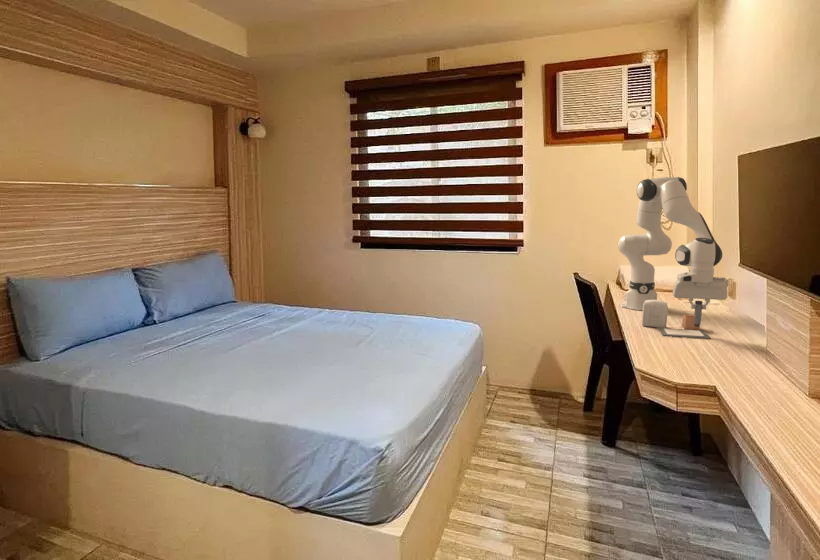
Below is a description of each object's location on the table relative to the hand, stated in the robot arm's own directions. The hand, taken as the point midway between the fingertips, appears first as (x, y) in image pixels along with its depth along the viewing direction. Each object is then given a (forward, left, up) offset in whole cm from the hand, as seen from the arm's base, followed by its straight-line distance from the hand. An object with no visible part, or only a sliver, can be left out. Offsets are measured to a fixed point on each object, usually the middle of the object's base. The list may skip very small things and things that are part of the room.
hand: (698, 308), depth 216 cm
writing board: (0, -5, -11) cm, 12 cm away
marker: (0, 0, -8) cm, 8 cm away
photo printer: (-10, -15, -12) cm, 21 cm away
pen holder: (-10, 0, -11) cm, 15 cm away
